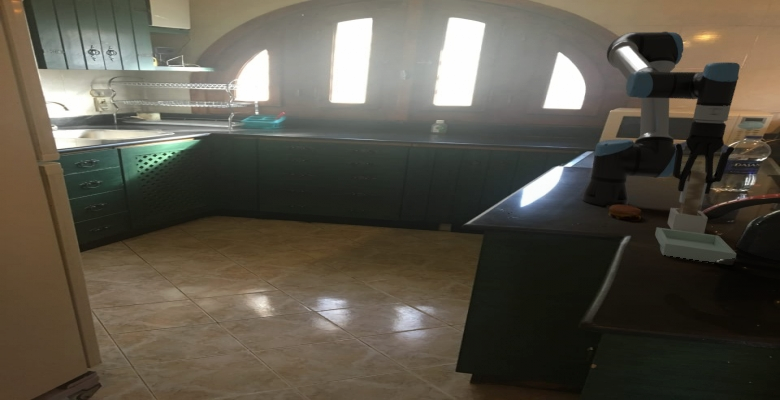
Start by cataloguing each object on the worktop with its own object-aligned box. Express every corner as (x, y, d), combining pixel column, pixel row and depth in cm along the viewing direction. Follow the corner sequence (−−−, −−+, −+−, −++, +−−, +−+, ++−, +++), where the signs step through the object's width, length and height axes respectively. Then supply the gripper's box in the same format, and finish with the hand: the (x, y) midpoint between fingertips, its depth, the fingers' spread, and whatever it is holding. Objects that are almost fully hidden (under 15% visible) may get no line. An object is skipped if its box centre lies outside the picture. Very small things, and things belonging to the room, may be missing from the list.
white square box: (671, 233, 116) (675, 213, 114) (666, 226, 122) (670, 207, 121) (702, 237, 113) (707, 217, 111) (696, 230, 119) (700, 211, 118)
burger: (603, 214, 134) (606, 200, 133) (634, 217, 132) (637, 203, 130) (611, 223, 125) (613, 208, 124) (644, 226, 123) (647, 211, 121)
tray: (663, 255, 99) (665, 243, 98) (654, 238, 112) (656, 227, 111) (733, 266, 94) (736, 253, 93) (715, 247, 106) (718, 235, 105)
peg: (679, 225, 116) (691, 171, 112) (676, 221, 119) (688, 169, 115) (693, 227, 115) (706, 173, 111) (691, 223, 118) (703, 171, 114)
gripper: (676, 121, 109) (658, 202, 116) (752, 124, 102) (729, 210, 109) (670, 119, 116) (654, 196, 122) (742, 122, 109) (721, 203, 115)
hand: (690, 203), depth 115 cm, fingers closed on peg, 3 cm apart
